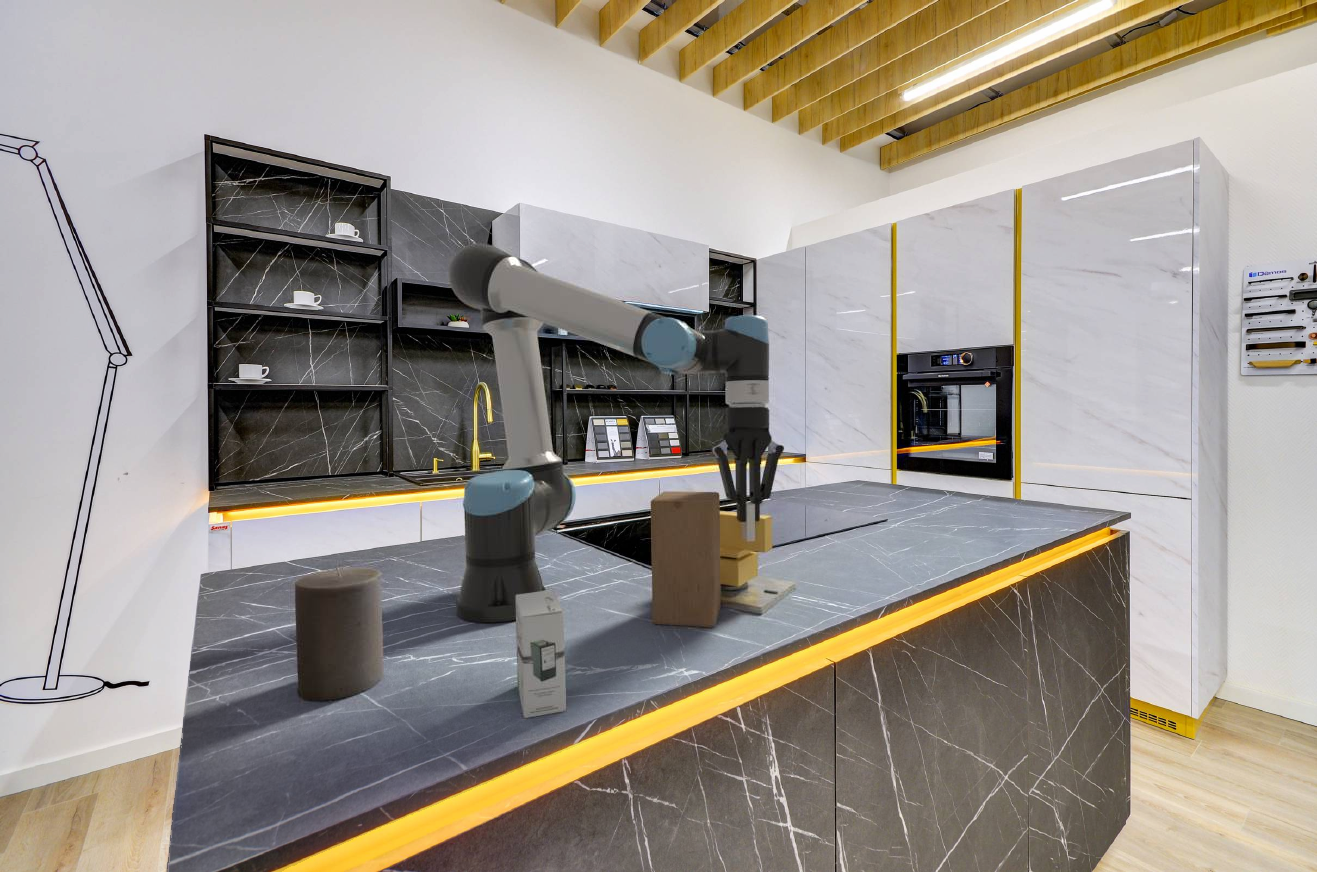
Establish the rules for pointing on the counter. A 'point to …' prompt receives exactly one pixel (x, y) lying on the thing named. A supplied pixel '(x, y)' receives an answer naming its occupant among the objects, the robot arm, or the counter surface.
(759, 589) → the base
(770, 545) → the yellow block with bar
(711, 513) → the wooden block
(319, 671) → the pillar candle
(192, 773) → the counter surface
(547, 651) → the ink box
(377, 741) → the counter surface
